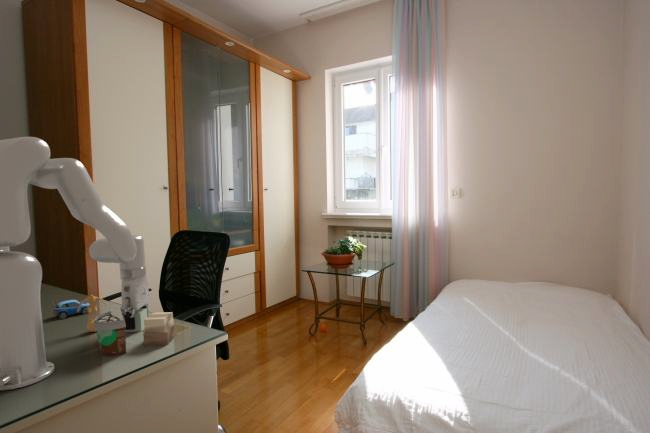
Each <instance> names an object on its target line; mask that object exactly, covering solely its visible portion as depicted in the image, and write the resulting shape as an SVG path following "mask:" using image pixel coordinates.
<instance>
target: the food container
mask: <svg viewBox="0 0 650 433" xmlns="http://www.w3.org/2000/svg"><path fill="white" fill-rule="evenodd" d="M96 316H97V317H96V318H95V317H94V319H95V320H94V325H93V328H95V329H96V330H97V331H96V334H97V340H98V347H99V352H100V355H101V356H104V357H114V356H120V355H121V356H122V355H124V354H127V341H126V330H125V327H126V323H125V319H124V318H123V319H120V318H119V317H117V316H114V315H112V311H107V312H104V313H101V314H99V315H96Z"/></svg>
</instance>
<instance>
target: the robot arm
mask: <svg viewBox="0 0 650 433" xmlns="http://www.w3.org/2000/svg"><path fill="white" fill-rule="evenodd" d="M29 184H31V185H33V186H37V187H38V188H39V187H40V188H43V189H49V190H56V189H57V191H58V193H59V195H60V197H62V200H63V201H64V203H65V205H66V207H67V208H68V210H69V212H70V214H71V216H72V217H73V218H75V219H76V220H78V221H79V222H81V223H83V224H85V225H87V226H89V227H91V228H93V229H95V231H98V232H99V233H101V235H102V236H103V237H104V238H100V239H97V240H95V241H93V242H92V244H91V245H90V246H89V249H88V250H89V251H88V254H89V256H90V257H91V259H93V260H94V261H95V262H99V263H105V264H119V272H120V273H119V275H120V280H121V306H120V312H121V315H122V318H123V320H124V319H125V323H126V327H125V331H126V330H134V329H135V328H136V327H135V317H133V316H134V312H135V309H136V310H138V309H146V308H147V316H149V309H148V306H149V304H148V303H149V302H150V291H149V290H150V289H149V286H148V284H149V283H148V279H147V272H146V271H147V270H146V269H147V268H146V257H145V256H146V255H145V254H146V253H145V242H144V241H145V240H144V237H143V236H142V235H137V234H135V235H133V234H132V233H131V231H130V228H129V226H128V225H127V224H126V223H125V222H124V221H123V219H121V218H120V217H119V216H118V215H117V214H116V213H115V212H114V211H112V210H111V209H110V208H109V207H108V206H107V205H106V204H105V203H104V202H103V200H102V198H101V196H100V194H99V191H98V190H97V188H96V186H95V183H94V182H93V179H92V178H91V176H90V174H89V172H88V170H87V168H86V167H85V165H84V164H83V163H82V162H81V161H80V160H78V159H76V158H72V157H61V158H60V157H59V158H51V149H50V146H49V144H48V143H47V142H46V141H44V139H41V138H39V137H36V136H19V137H13V138H7V139H0V391H9V390H15V389H16V390H17V389H19V388H23V387H27V386H29V385H33V384H35V383H38V382H40V381H42V380H44V379H46V378H48V377H49V376H51V375H52V374H53V372H54V371H55V363H53V362H51V361H47V358H46V347H45V334H44V324H43V323H44V322H43V313H42V304H41V290H42V289H41V287H42V280H43V268H42V264H41V263H40V261H39V260H38V259H37V258H36V257H35V256H34V255H32V254H29V253H26V252H21V251H11V249H10V247H17V246H19V245H22V244H23V243H25V242H27V240H28V239H29V237H30V235H31V230H32V229H31V227H32V226H31V217H30V211H29V209H30V208H29V200H28V187H29V186H28V185H29ZM129 311H131V313H130V312H129Z"/></svg>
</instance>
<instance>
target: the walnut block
mask: <svg viewBox="0 0 650 433" xmlns="http://www.w3.org/2000/svg"><path fill="white" fill-rule="evenodd" d="M175 337H177V323H173V325H172V326H171V327H170V328H169V329H168V330H167V331H166V332H153V333H145V331H144V332H143V346H144V347H146V346H165V345H170V343H171V342H173V340H174V339H175Z"/></svg>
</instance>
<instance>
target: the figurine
mask: <svg viewBox="0 0 650 433" xmlns="http://www.w3.org/2000/svg"><path fill="white" fill-rule="evenodd" d="M96 300H98V301H99V300H100V301H101V302H102V303H103V304H104V306H105V307H106V308H107V307H108V306H107V302H106V301H105V300H104V299H103V298H101V297H98V296H94V295H93V294H90V295H89V296H88V297H86V298H85V299H84V300H82V301H79V302H80V305H79V307H78V311H77V312H79V308H80V307H81V304H82V303H84V302H87V303H89V304H90V307H89V306H88V307H87V308H88V313H87V314H88V316H89V321H88V323H87V324H86V328H87V330H88V331H89V332H91V333H97V330H96V329H95V328H93V325H94V320H95V318H96V317H97V316H98V315H97V314H98V304H95V303H96ZM91 308H92V309H91ZM92 310H93V311H94V319H93V318H92V313H91V312H92Z"/></svg>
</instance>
